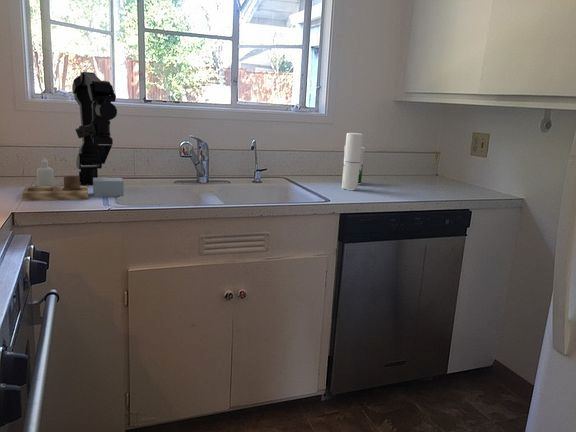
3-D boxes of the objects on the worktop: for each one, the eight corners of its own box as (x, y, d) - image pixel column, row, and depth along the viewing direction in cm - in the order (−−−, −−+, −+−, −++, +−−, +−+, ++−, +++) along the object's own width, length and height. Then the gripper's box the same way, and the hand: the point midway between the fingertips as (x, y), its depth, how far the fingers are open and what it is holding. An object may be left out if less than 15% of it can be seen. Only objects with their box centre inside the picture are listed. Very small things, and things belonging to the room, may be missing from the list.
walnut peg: (80, 195, 175) (79, 175, 174) (80, 197, 172) (79, 177, 171) (64, 195, 173) (63, 175, 172) (64, 197, 170) (63, 177, 169)
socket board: (87, 192, 180) (87, 185, 179) (88, 199, 169) (87, 192, 169) (26, 193, 172) (25, 186, 172) (22, 200, 162) (22, 193, 161)
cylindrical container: (350, 191, 218) (355, 134, 212) (338, 188, 223) (343, 132, 217) (360, 190, 222) (366, 134, 216) (348, 187, 227) (354, 132, 221)
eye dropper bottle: (38, 188, 181) (36, 156, 178) (55, 188, 183) (53, 156, 180) (36, 191, 177) (34, 157, 174) (53, 191, 179) (52, 158, 176)
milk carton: (339, 181, 241) (343, 140, 237) (356, 182, 244) (360, 141, 239) (345, 184, 233) (349, 142, 228) (363, 185, 235) (367, 143, 231)
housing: (122, 192, 184) (121, 177, 183) (123, 196, 178) (123, 181, 177) (93, 192, 180) (92, 177, 179) (94, 196, 174) (93, 181, 173)
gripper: (75, 114, 178) (77, 157, 182) (76, 118, 161) (78, 165, 165) (108, 116, 182) (109, 158, 186) (112, 120, 166) (113, 165, 170)
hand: (102, 161), depth 177 cm, fingers open, 9 cm apart
